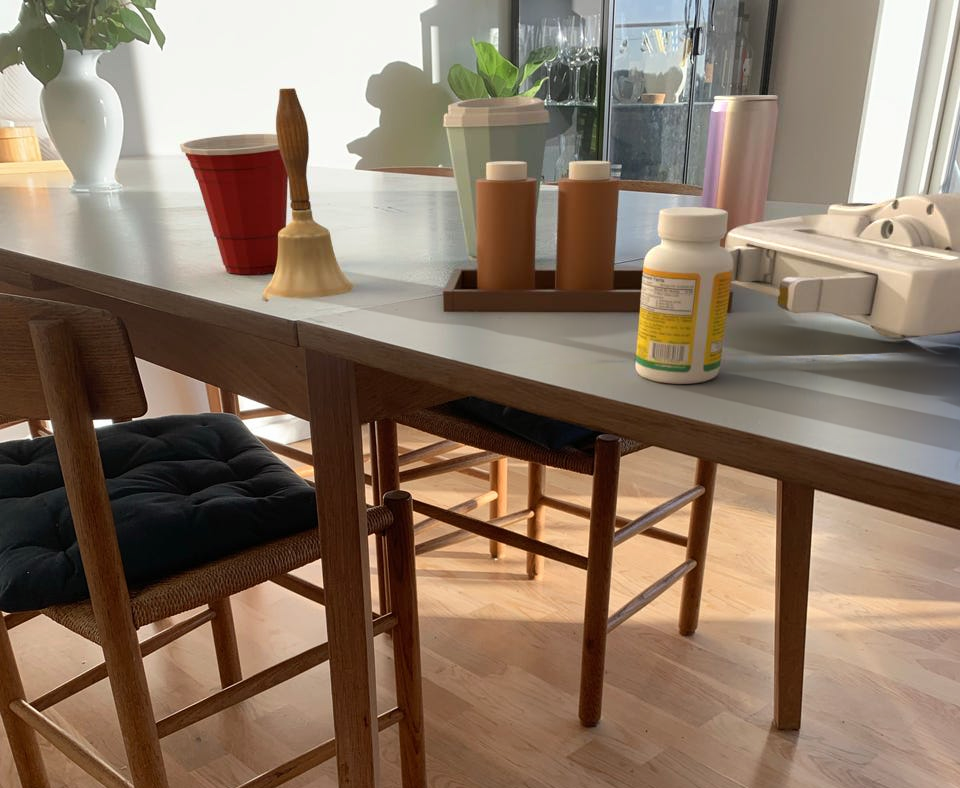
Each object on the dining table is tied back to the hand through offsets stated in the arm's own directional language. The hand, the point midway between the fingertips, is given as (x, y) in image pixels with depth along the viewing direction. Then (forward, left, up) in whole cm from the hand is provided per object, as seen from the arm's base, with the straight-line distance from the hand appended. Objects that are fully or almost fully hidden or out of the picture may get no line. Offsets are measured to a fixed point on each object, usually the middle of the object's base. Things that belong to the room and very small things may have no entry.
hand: (740, 282), depth 58 cm
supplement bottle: (+4, +1, -6) cm, 7 cm away
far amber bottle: (+13, -22, -5) cm, 26 cm away
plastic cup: (+37, -42, -6) cm, 56 cm away
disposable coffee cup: (+12, -45, -6) cm, 47 cm away
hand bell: (+30, -28, -6) cm, 41 cm away
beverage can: (-10, -36, -6) cm, 38 cm away
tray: (+6, -21, -5) cm, 23 cm away
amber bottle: (+6, -21, -5) cm, 23 cm away
